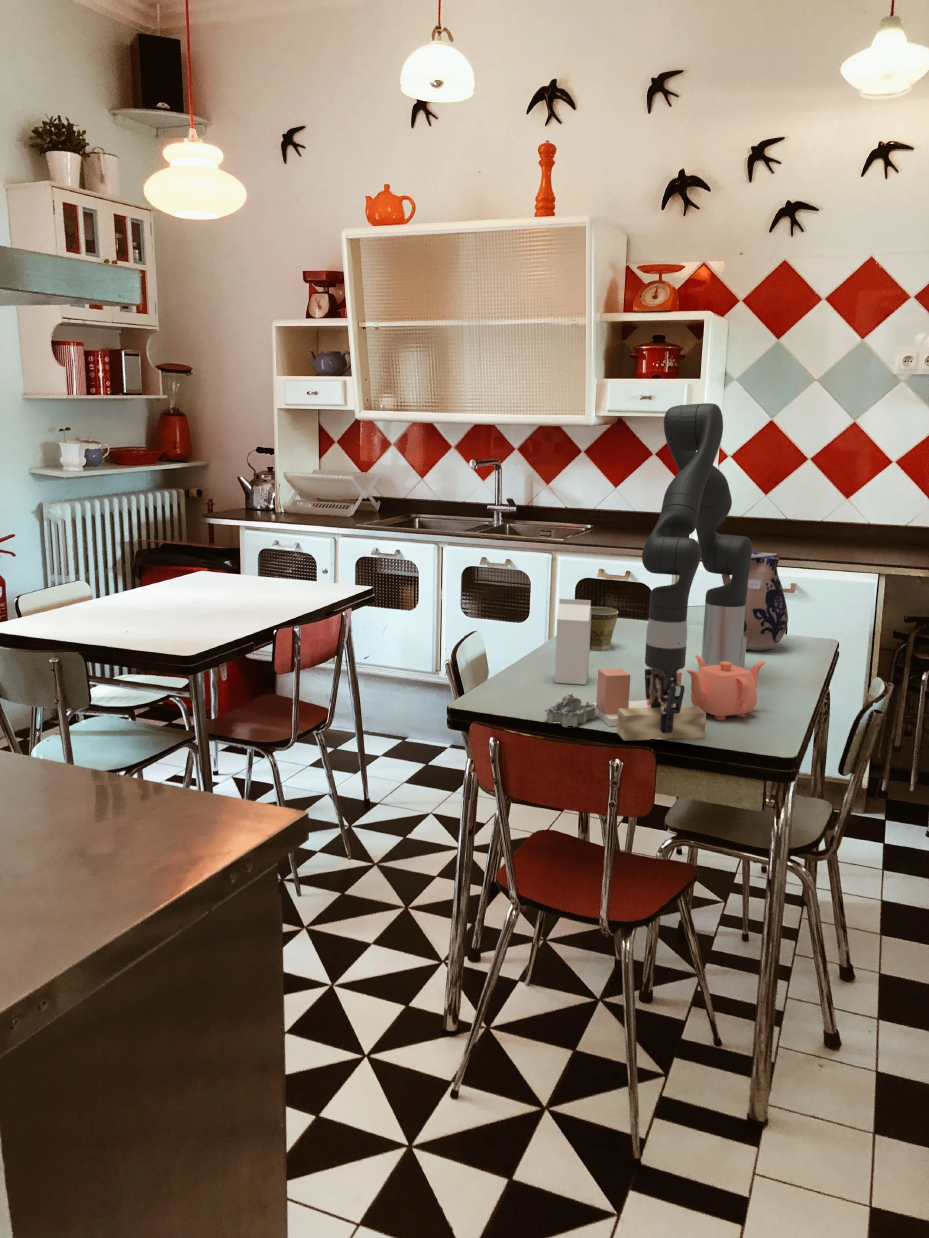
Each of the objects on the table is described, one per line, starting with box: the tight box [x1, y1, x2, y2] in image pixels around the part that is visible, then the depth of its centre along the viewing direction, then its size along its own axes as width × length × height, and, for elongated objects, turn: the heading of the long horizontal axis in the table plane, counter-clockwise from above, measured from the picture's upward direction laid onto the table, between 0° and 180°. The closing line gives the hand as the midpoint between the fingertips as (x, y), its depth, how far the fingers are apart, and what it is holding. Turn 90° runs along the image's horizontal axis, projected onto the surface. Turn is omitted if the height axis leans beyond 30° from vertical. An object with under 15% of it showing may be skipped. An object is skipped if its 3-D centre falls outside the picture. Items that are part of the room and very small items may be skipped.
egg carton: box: [543, 693, 598, 728], centre depth 198 cm, size 11×8×4 cm
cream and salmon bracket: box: [590, 667, 683, 727], centre depth 200 cm, size 16×11×10 cm
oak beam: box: [616, 705, 707, 741], centre depth 189 cm, size 16×4×5 cm, turn 99°
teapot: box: [685, 655, 766, 721], centre depth 203 cm, size 14×14×11 cm
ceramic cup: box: [590, 606, 619, 652], centre depth 259 cm, size 13×10×10 cm
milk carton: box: [554, 598, 592, 686], centre depth 225 cm, size 7×7×19 cm
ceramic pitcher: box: [721, 551, 789, 651], centre depth 261 cm, size 18×21×25 cm
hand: (660, 727), depth 189 cm, fingers closed on oak beam, 4 cm apart
